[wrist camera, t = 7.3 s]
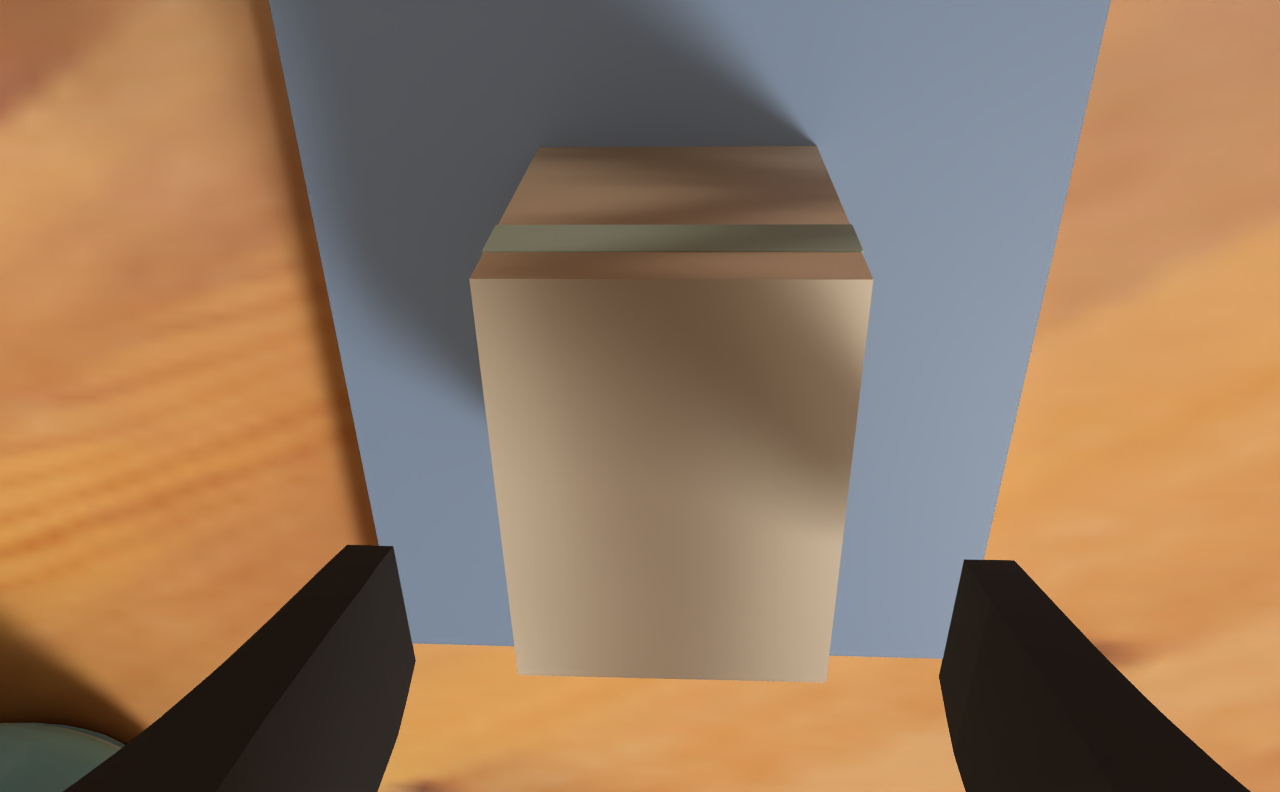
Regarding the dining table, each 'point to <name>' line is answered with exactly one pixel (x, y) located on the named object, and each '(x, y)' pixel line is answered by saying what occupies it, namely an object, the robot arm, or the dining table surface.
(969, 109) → the book
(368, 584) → the robot arm
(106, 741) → the casserole dish
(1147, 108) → the dining table surface
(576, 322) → the tea box
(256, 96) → the dining table surface
